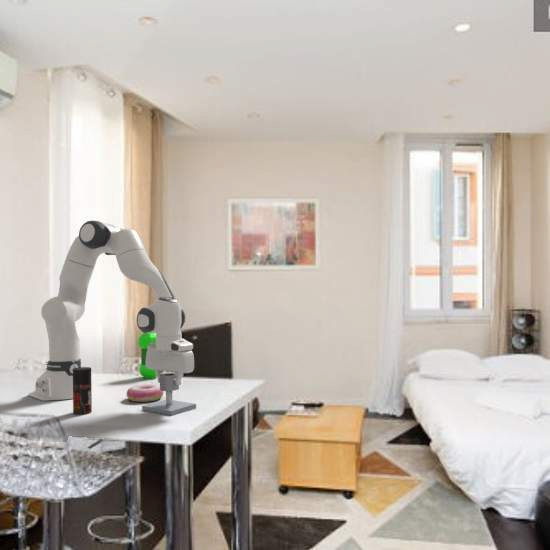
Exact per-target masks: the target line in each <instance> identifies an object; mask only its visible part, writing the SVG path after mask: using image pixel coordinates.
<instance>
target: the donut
mask: <svg viewBox="0 0 550 550" xmlns="http://www.w3.org/2000/svg"><path fill="white" fill-rule="evenodd" d="M163 395H164V391H161V390H160V385H157V384H146V383H145V384H137V385H133V386H130V387H129V388H128V389H127V390H126V397H127V399H128V400H130V401H131V402H137V403H150V402H149V401H151V402H154V401H155V402H156V401H158V399H159V400H160V399H161V398H162V397H163Z"/></svg>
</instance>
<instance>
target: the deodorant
mask: <svg viewBox="0 0 550 550" xmlns="http://www.w3.org/2000/svg"><path fill="white" fill-rule="evenodd" d="M92 400H93V399H92V367H89V366H81V367H79V368H74V369H73V398H72V414H73V415H78V416H83V415H89V414H91V413H92V408H93V407H92V406H93V405H92V404H93V403H92Z"/></svg>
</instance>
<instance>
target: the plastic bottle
mask: <svg viewBox="0 0 550 550" xmlns="http://www.w3.org/2000/svg"><path fill="white" fill-rule="evenodd" d="M137 342H138V346H139V348H140V349H141V350H140V351H141V352H140V354H141V355H140V356H141V357H140V359H141V360H140V361H141V362H140V366H139V367H138V371H139V373H140V375H141V376H142V377H143V378H144V379H146V380H147V379H150V378H152V379H156V378H157V375H156V373H155V370H153V369H147V367H146V353H147V347H148V345H149V344H150V343H156V333H143V332H142V334H141V335H140V336H138V340H137ZM150 346H151V345H150ZM155 377H156V378H155Z"/></svg>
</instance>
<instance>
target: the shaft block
mask: <svg viewBox="0 0 550 550" xmlns="http://www.w3.org/2000/svg"><path fill="white" fill-rule="evenodd" d="M194 409H197V403H193V402H187V401H182V400H181V401H180V400H173V391H165V399H163V400H159V401H155V402H153V403H148V404H144V405H141V410H142V411H144V410H146V411H145V412H149V411H151V412H150V413H155V412H157V413H156V414H160V413H162V414H161V415H166V414H167V416H175V415H177V414H181V412H182V413H185V412H188V411H191V410H194Z"/></svg>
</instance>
